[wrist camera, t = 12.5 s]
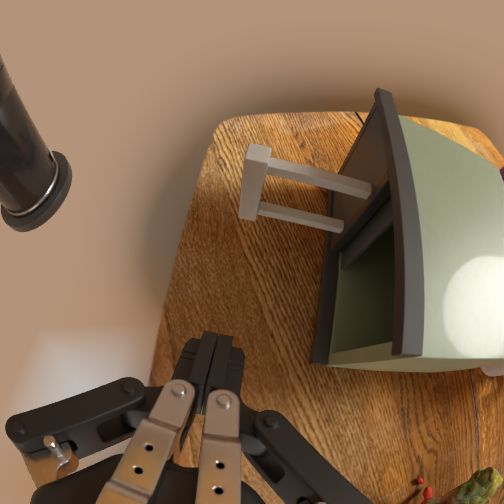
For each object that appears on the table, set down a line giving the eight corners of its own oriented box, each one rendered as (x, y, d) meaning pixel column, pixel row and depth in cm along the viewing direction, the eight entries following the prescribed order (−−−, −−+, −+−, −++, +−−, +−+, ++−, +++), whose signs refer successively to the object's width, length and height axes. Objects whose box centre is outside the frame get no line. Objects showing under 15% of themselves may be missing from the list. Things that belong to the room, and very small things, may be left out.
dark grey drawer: (236, 231, 23) (245, 141, 14) (253, 161, 27) (267, 71, 17) (338, 253, 24) (400, 183, 14) (340, 182, 27) (384, 104, 17)
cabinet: (309, 363, 21) (400, 354, 9) (327, 184, 28) (377, 86, 16) (433, 372, 21) (540, 355, 9) (429, 216, 28) (498, 150, 16)
